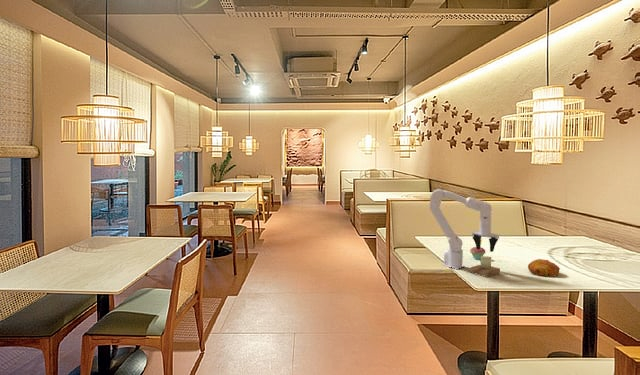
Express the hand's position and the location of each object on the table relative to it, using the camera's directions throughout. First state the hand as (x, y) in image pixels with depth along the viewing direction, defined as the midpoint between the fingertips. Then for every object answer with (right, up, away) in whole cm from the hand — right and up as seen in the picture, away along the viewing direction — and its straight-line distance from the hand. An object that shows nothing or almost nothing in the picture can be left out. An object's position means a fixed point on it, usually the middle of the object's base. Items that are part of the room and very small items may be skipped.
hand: (485, 250), depth 223 cm
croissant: (+28, -11, -6) cm, 31 cm away
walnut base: (-2, -11, -7) cm, 13 cm away
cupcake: (+5, -9, +24) cm, 26 cm away
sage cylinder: (-2, -8, -7) cm, 11 cm away
